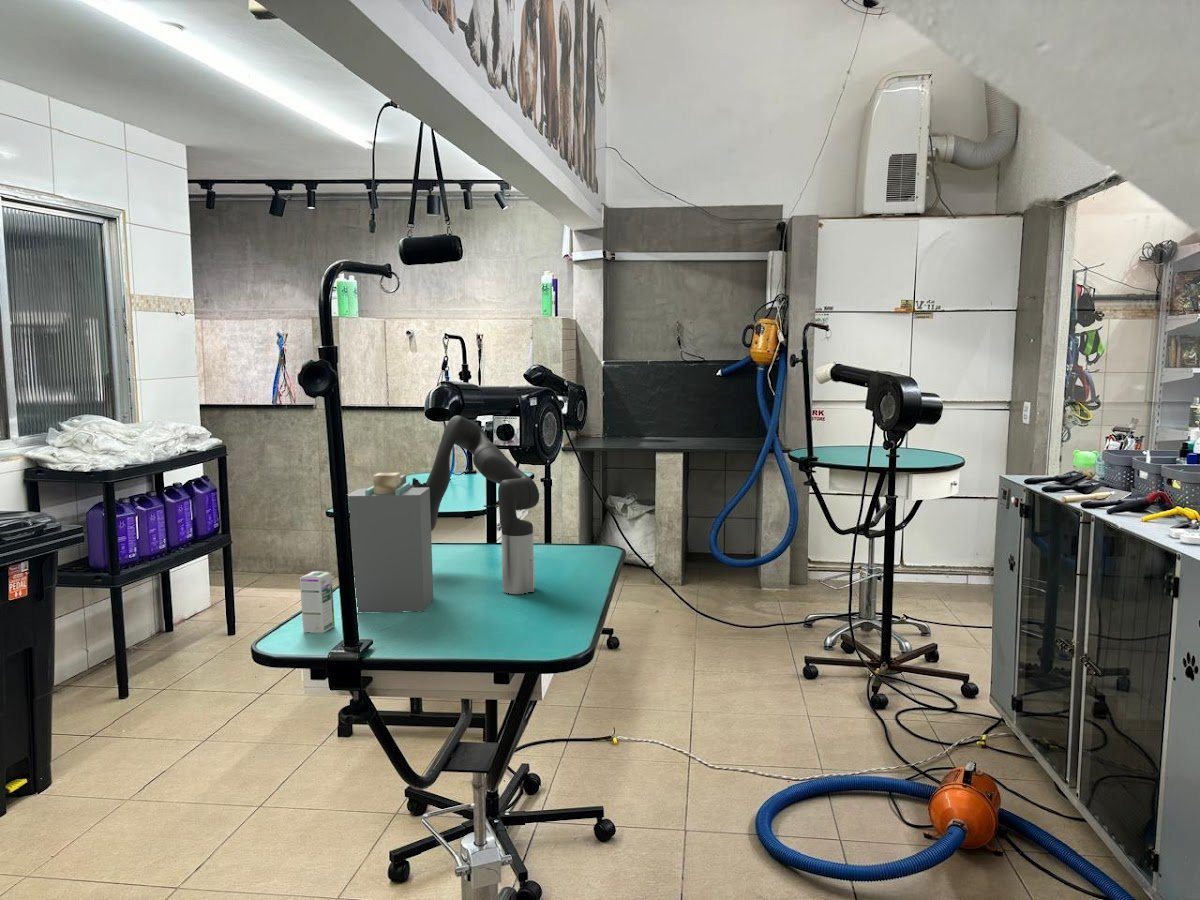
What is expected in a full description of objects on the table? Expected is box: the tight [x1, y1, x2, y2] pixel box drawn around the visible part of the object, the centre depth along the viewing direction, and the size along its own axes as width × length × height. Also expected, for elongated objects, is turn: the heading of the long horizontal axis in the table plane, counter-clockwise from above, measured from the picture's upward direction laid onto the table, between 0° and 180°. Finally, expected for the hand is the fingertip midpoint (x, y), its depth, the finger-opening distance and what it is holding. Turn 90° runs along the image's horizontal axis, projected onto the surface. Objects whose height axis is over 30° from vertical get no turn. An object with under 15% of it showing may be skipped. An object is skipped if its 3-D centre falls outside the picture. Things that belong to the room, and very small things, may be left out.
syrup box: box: [299, 570, 336, 634], centre depth 214 cm, size 6×6×14 cm
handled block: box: [372, 472, 407, 494], centre depth 239 cm, size 6×20×5 cm, turn 1°
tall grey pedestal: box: [347, 481, 434, 614], centre depth 234 cm, size 20×14×34 cm
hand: (399, 481), depth 246 cm, fingers open, 8 cm apart
